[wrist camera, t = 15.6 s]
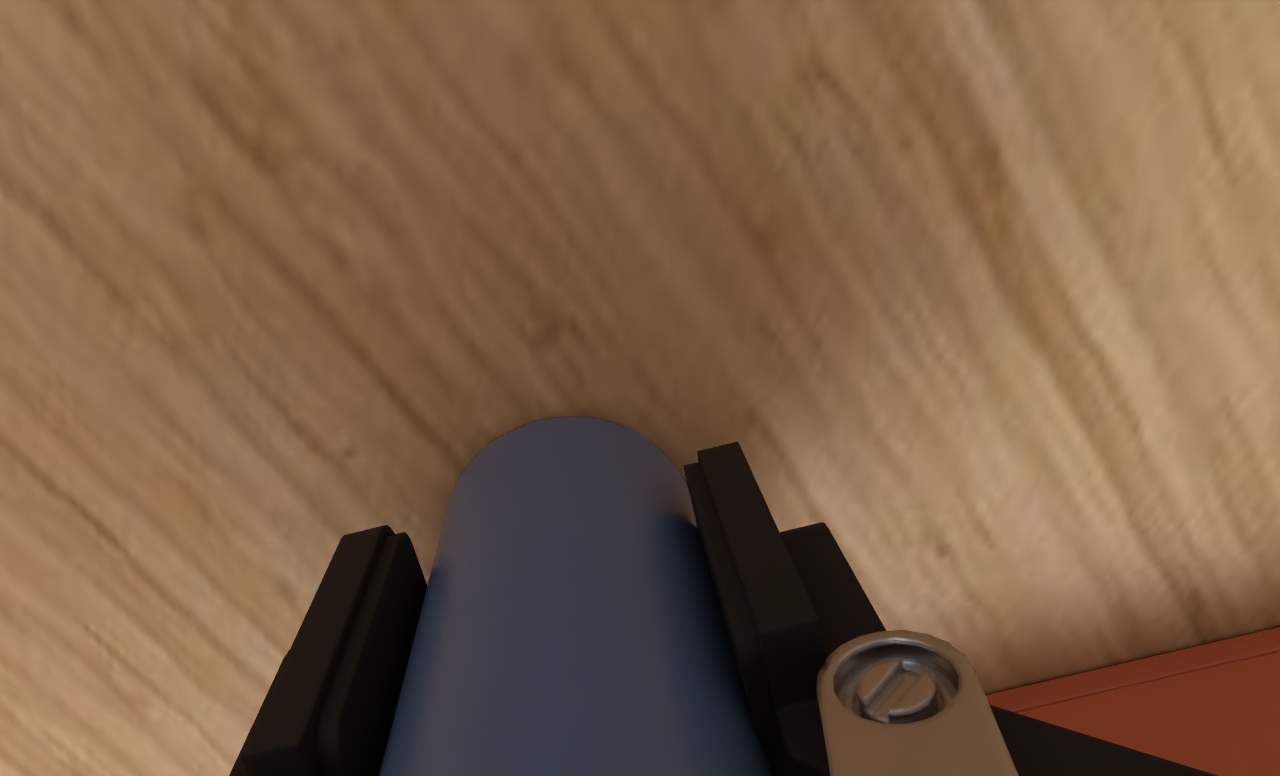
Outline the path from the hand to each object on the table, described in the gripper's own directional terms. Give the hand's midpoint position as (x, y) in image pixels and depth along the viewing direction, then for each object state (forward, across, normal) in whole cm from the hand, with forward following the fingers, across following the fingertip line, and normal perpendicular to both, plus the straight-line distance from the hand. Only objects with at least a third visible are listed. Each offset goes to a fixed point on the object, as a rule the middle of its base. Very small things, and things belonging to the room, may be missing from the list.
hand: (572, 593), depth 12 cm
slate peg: (+2, 0, 0) cm, 2 cm away
